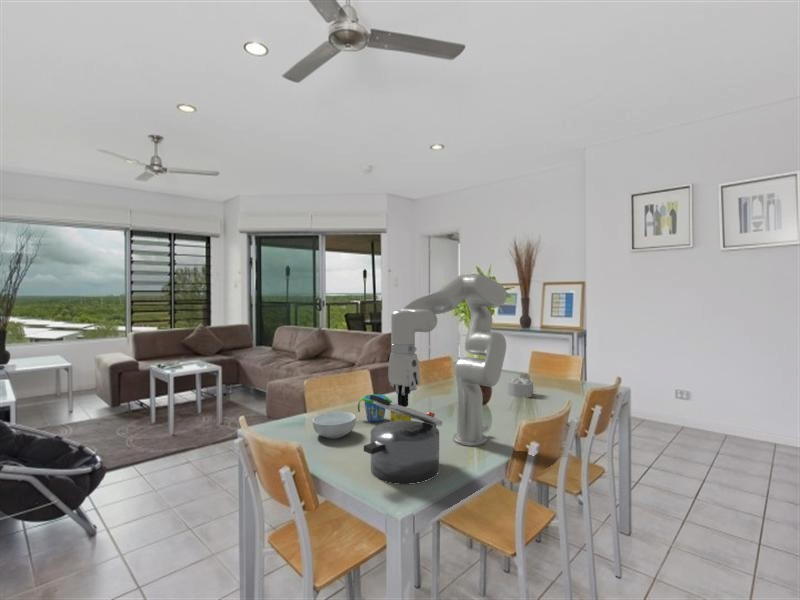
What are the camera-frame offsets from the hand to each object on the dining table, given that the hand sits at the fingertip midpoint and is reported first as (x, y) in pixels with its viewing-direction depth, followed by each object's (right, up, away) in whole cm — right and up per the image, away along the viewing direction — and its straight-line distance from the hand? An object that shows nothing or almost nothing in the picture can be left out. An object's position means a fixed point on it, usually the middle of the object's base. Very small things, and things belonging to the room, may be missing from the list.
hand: (403, 406), depth 134 cm
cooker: (0, -20, 0) cm, 20 cm away
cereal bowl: (-27, -20, +32) cm, 46 cm away
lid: (0, -2, 0) cm, 2 cm away
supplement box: (-1, -20, +32) cm, 37 cm away
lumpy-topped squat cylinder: (+64, -18, +93) cm, 114 cm away
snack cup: (-12, -19, +51) cm, 55 cm away
